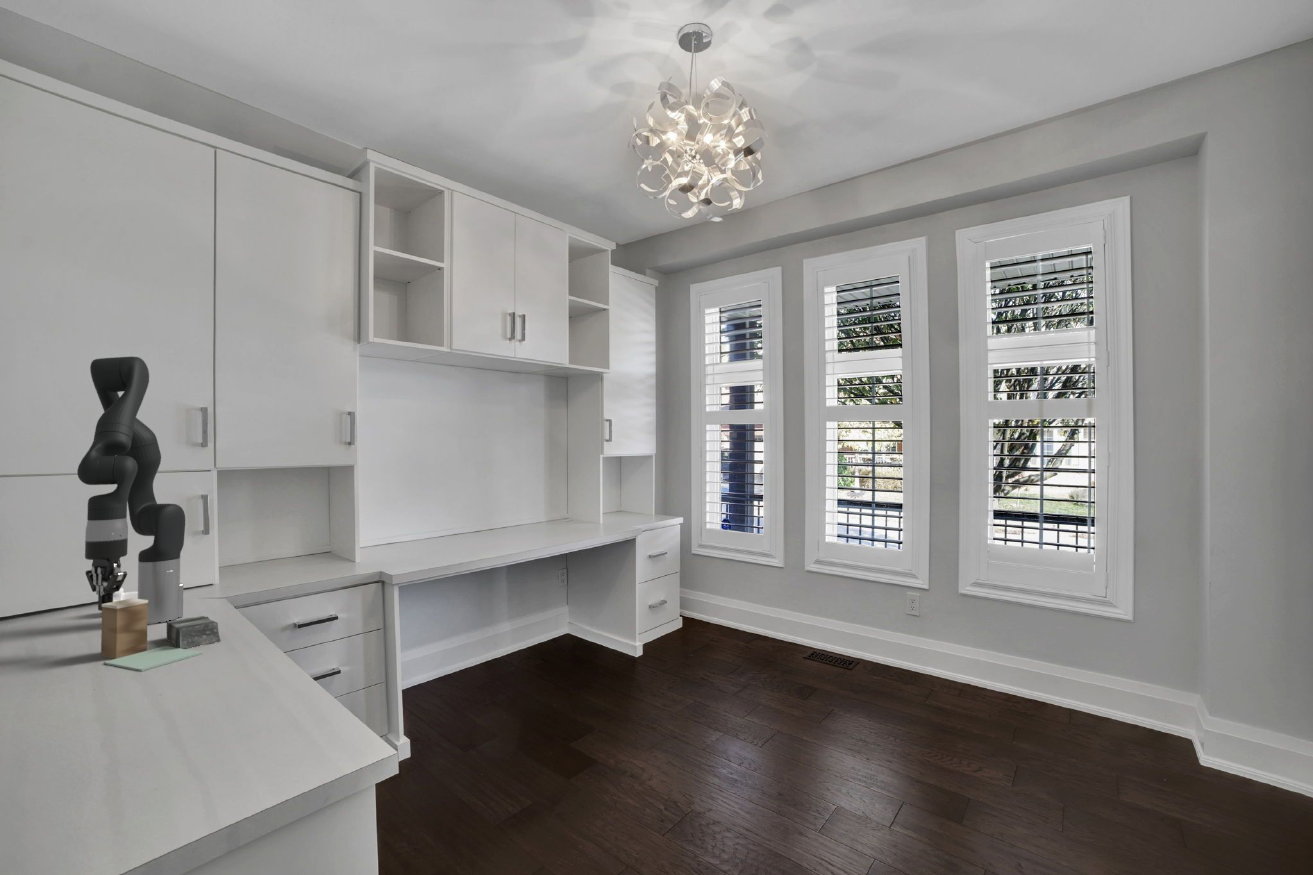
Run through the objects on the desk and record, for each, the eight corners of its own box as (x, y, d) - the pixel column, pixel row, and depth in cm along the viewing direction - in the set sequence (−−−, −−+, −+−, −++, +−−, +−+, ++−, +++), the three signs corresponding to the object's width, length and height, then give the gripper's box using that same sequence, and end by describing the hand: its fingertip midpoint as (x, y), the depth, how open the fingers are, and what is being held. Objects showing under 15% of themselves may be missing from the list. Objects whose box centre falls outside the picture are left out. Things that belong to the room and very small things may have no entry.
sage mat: (165, 647, 143) (165, 645, 143) (202, 653, 138) (202, 652, 138) (103, 663, 132) (103, 661, 132) (141, 671, 126) (141, 669, 126)
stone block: (209, 632, 156) (209, 612, 157) (224, 642, 147) (224, 621, 147) (165, 640, 150) (166, 619, 150) (179, 651, 140) (179, 629, 141)
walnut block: (131, 648, 143) (132, 598, 143) (147, 650, 140) (148, 600, 141) (100, 656, 137) (101, 604, 137) (116, 659, 135) (117, 606, 135)
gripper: (141, 537, 143) (140, 608, 143) (110, 535, 148) (108, 604, 148) (103, 541, 136) (101, 616, 136) (71, 538, 141) (69, 611, 141)
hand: (105, 609), depth 142 cm, fingers closed
